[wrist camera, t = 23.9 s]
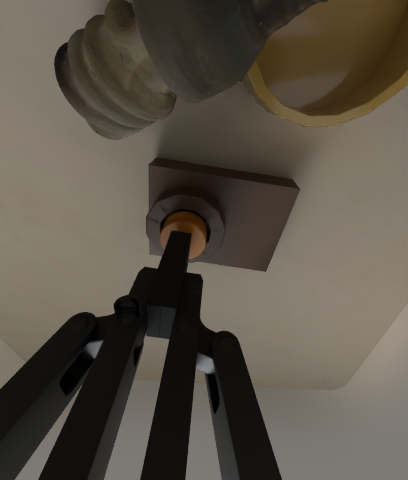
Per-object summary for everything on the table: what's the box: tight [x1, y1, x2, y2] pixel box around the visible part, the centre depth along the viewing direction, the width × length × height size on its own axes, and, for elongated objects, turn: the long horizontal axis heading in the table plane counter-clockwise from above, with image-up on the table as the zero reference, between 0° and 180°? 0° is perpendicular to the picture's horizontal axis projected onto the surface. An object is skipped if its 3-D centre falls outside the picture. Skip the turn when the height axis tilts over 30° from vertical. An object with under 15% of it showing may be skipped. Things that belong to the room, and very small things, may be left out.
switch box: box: [146, 158, 300, 272], centre depth 20 cm, size 12×9×4 cm
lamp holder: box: [243, 0, 408, 127], centre depth 12 cm, size 10×10×4 cm
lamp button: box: [160, 211, 207, 259], centre depth 17 cm, size 4×4×2 cm
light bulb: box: [54, 0, 328, 140], centre depth 11 cm, size 6×6×15 cm
